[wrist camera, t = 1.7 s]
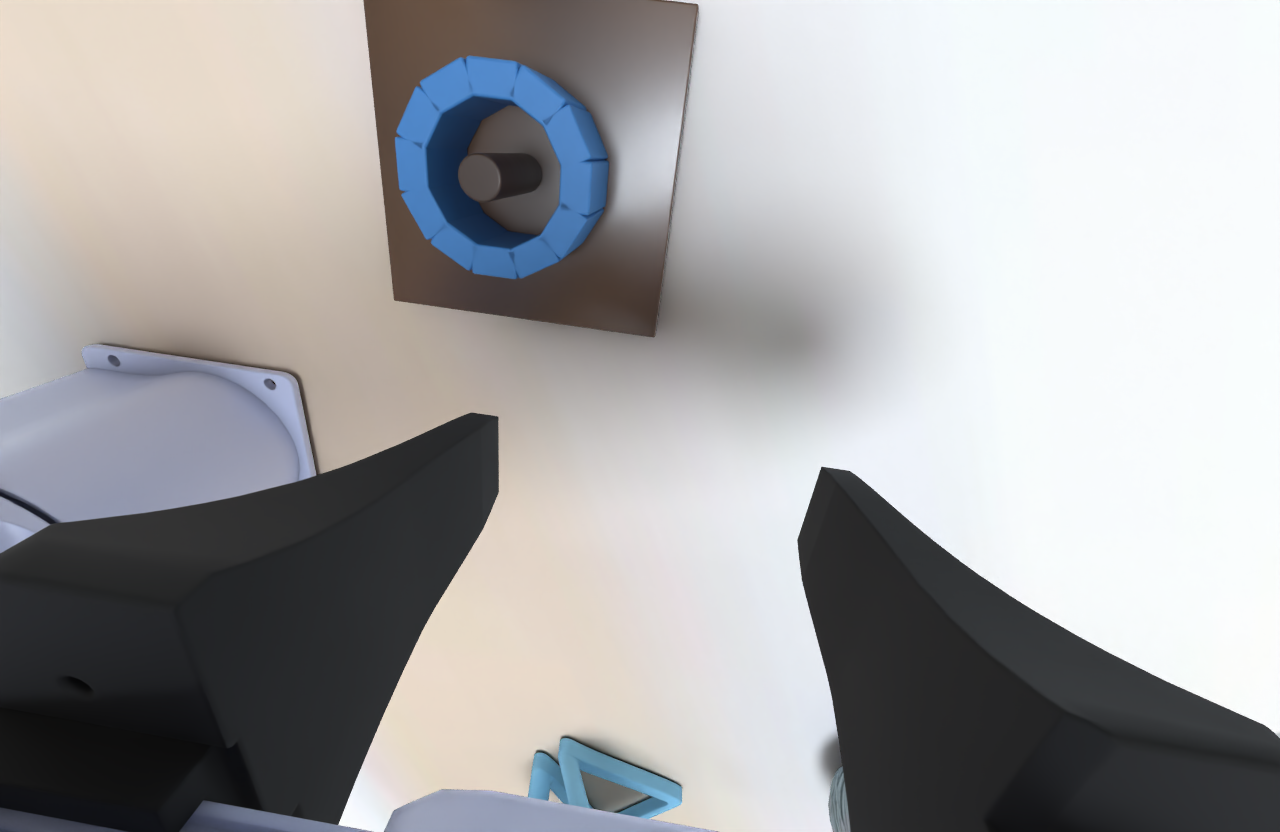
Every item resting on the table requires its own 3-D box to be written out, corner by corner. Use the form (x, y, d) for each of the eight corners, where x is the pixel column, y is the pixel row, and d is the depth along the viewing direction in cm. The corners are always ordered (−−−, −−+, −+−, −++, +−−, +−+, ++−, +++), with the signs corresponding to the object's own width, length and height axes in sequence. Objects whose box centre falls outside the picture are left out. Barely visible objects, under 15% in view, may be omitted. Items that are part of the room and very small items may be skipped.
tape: (447, 248, 19) (404, 264, 16) (436, 63, 16) (385, 44, 14) (600, 270, 19) (584, 289, 16) (615, 84, 16) (598, 70, 13)
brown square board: (404, 295, 21) (326, 333, 16) (374, -28, 16) (255, -94, 12) (656, 331, 20) (644, 379, 16) (699, 10, 16) (698, -44, 11)
